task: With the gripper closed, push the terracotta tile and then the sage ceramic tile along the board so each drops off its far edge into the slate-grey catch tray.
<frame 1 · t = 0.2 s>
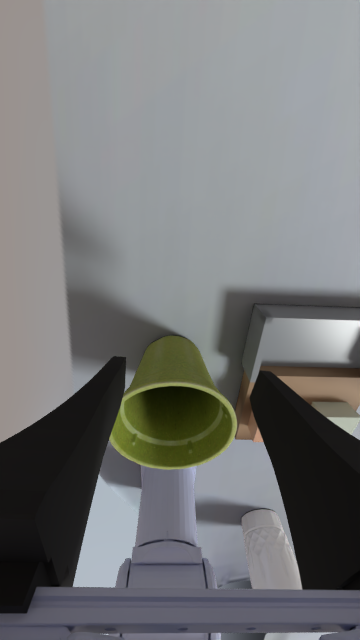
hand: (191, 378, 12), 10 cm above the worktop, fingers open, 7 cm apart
tile terracotta: (268, 413, 25), point 2 cm above the worktop, touching board
white cup: (258, 516, 40), on the worktop
catch tray: (313, 337, 22), on the worktop
plant pot: (173, 357, 23), on the worktop
board: (291, 397, 26), on the worktop
tile sage: (323, 414, 25), point 2 cm above the worktop, touching board
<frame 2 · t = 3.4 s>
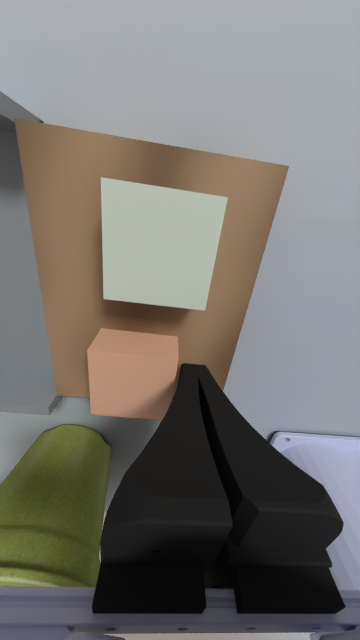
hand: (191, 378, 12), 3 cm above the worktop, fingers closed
tile terracotta: (138, 363, 12), point 2 cm above the worktop
plant pot: (76, 444, 19), on the worktop
board: (150, 293, 13), on the worktop
tile sage: (162, 245, 9), point 2 cm above the worktop, touching board
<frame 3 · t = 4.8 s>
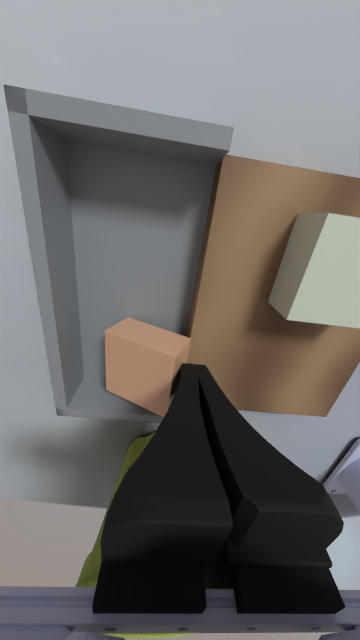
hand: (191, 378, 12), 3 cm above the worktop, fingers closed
tile terracotta: (155, 356, 13), point 1 cm above the worktop, tilted 25°, touching gripper
catch tray: (131, 290, 12), on the worktop
plant pot: (162, 449, 19), on the worktop
board: (273, 308, 13), on the worktop
tile sage: (322, 267, 10), point 2 cm above the worktop, touching board
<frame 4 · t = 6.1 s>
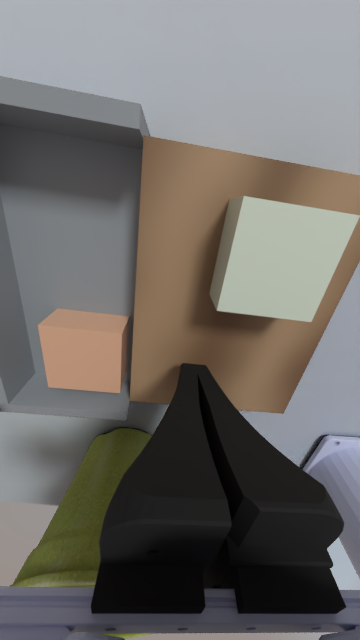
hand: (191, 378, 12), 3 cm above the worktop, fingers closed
tile terracotta: (95, 342, 13), resting on catch tray
catch tray: (76, 282, 12), on the worktop
plant pot: (127, 447, 19), on the worktop
board: (225, 301, 13), on the worktop
tile sage: (262, 257, 10), point 2 cm above the worktop, touching board
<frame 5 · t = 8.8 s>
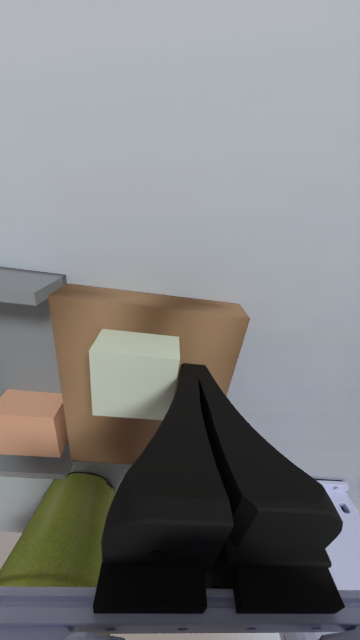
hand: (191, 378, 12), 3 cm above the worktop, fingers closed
tile terracotta: (42, 411, 16), resting on catch tray
catch tray: (22, 369, 15), on the worktop
plant pot: (84, 486, 21), on the worktop
board: (148, 380, 15), on the worktop
tile sage: (139, 363, 12), point 2 cm above the worktop, touching gripper
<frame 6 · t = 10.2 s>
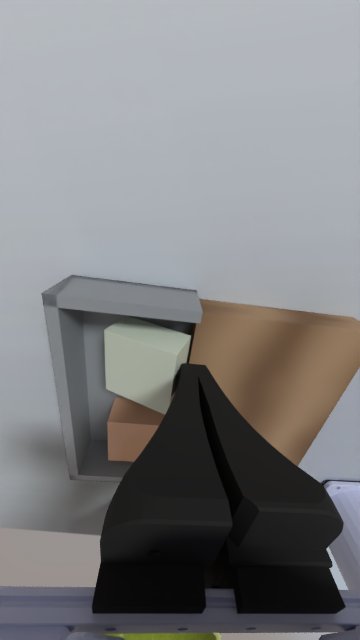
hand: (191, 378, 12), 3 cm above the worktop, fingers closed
tile terracotta: (141, 418, 17), resting on catch tray
catch tray: (131, 378, 15), on the worktop
plant pot: (158, 489, 22), on the worktop
board: (247, 389, 16), on the worktop
tile sage: (154, 354, 13), point 1 cm above the worktop, tilted 23°, touching gripper
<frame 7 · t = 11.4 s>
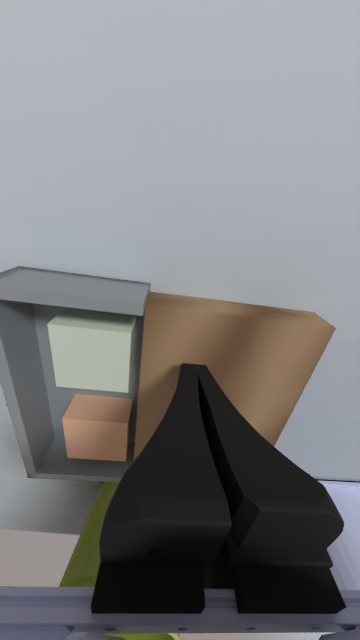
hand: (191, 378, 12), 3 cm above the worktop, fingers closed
tile terracotta: (104, 416, 16), resting on catch tray
catch tray: (91, 374, 15), on the worktop
plant pot: (130, 488, 22), on the worktop
board: (211, 385, 16), on the worktop
tile sage: (102, 341, 13), resting on catch tray
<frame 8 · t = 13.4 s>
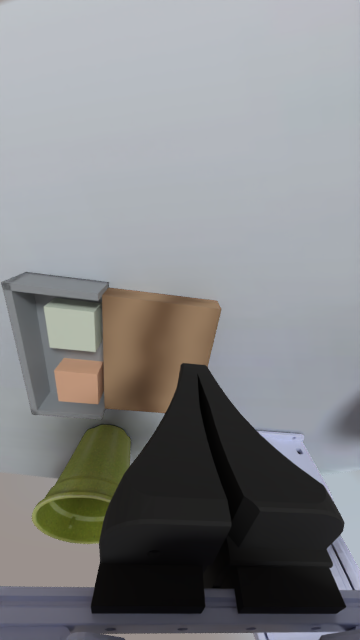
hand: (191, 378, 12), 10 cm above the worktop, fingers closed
tile terracotta: (84, 374, 23), resting on catch tray
catch tray: (74, 344, 22), on the worktop
plant pot: (108, 437, 29), on the worktop
board: (157, 352, 23), on the worktop
tile sage: (80, 320, 20), resting on catch tray
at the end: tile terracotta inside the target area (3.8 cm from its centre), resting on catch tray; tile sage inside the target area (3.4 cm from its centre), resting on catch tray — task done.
